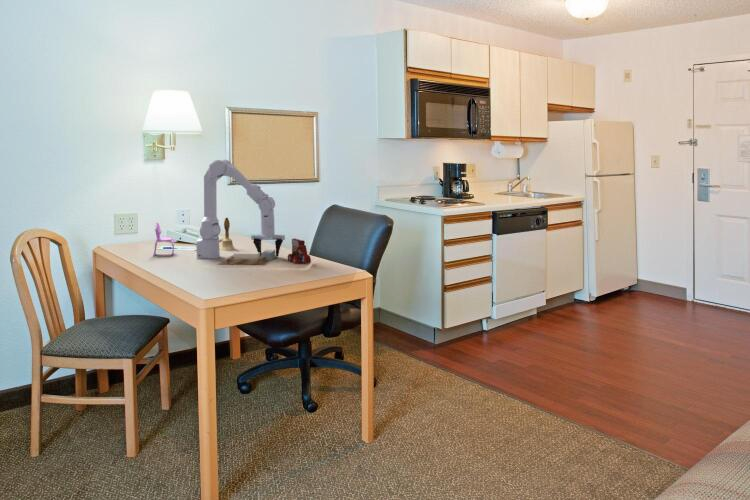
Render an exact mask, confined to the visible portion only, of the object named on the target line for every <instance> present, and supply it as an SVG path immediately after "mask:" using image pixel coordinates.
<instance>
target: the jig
mask: <svg viewBox="0 0 750 500" xmlns="http://www.w3.org/2000/svg"><path fill="white" fill-rule="evenodd" d="M272 260H273V259H271V260H266V256H260V258H259V259H234V254H232V255H230V256H228V257H227V258H225V259H224V260H222V261H220V262H218V263H217V264H216V265H219V266H220V265H221V266H265V265H266V264H268V263H269V262H271V261H272Z"/></svg>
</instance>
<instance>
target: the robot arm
mask: <svg viewBox="0 0 750 500" xmlns="http://www.w3.org/2000/svg"><path fill="white" fill-rule="evenodd" d="M222 177H230V178H233V179H234V180H235V181H236V182H237V183H238V184H239V185H240V186H242V187H243V188H244V189H245V190H246V195H247V196H248V197H249V198H251V200H252V201H254V203H255V204H257V205H258V206H257V207H258V209H259V210H260V229H261V231H260V232H261V234H251V236H250V240H252V243H253V244H254V246H255V248H256V252H260V256H261V253H262V240H267V241H268V240H270V241H271V240H272V241H274V243H275V257H279V254H280V250H281V246H282V244H283V242H284V241H286V235H285V234H275V231H276V230H275V209H274V208H275V207H276V201H275V199H274V198H273V197H271V196H270V195H269V194H268V193H266V192H265V191H263V190H262V189H261V188H262V187H261V186H260V185H257V184H253V183H252V182H250V181H249V180H248V179H247V178H246V177H245V175H244V174H243V173H242V172H241V171H240V169H238V168H237V167H236V165H235V164H233V163H231V161H230V160H227V159H221V160H220V159H219V160H218V159H217V160H214V161H213V162H210V164H209V165H208V169H207V170H206V172H205V174H204V175H203V218H202V220H201V226H200V228H199V235H200V236H201V238H198V239H197V241H196V260H199V259H218V258H220V257H221V255H220V253H221V252H220V251H221V250H220V236H219V235H220V234H221V231H222V229H221V226H220V223H219V219H218V216H217V211H218V209H217V206H218V205H217V182H218V180H220V179H221V178H222Z"/></svg>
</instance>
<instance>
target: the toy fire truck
mask: <svg viewBox="0 0 750 500" xmlns="http://www.w3.org/2000/svg"><path fill="white" fill-rule="evenodd" d="M305 243H306V241H305V240H303V239H302V240H301V239H298V238H292V239H291V246H292V247H291V253H289V254H287V261H288V262H290V263H293V264H294V265H299V264H302V263H304V264H305V263H307V264H311V259H312V258H311V256H310V255H309V253H308V250H307V245H306V244H305Z"/></svg>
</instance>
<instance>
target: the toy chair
mask: <svg viewBox="0 0 750 500" xmlns="http://www.w3.org/2000/svg"><path fill="white" fill-rule="evenodd" d="M154 225H155V229H154V231H155V235H156V239H155V243H154V251H153V257H155V255H156V253H157V245H158V243H162V242H163V243H165V242H167V243H171V247H172V252H171V256H174V253H175V252H174V251H175V242H174V240H173V237H161V233H162V230H161V226H160V224H159V223H158V222H156V221H155V222H154Z"/></svg>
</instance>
